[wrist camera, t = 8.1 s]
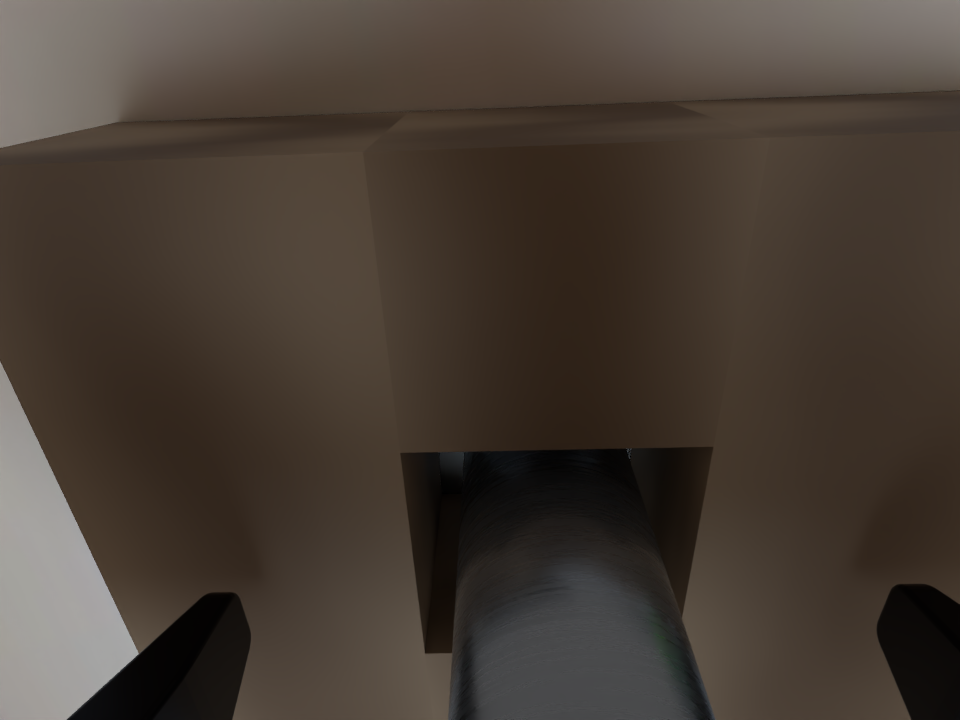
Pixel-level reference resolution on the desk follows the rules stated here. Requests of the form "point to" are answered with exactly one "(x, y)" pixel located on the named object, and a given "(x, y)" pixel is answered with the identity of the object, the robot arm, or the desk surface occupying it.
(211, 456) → the hole block
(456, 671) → the pin
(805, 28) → the desk surface
